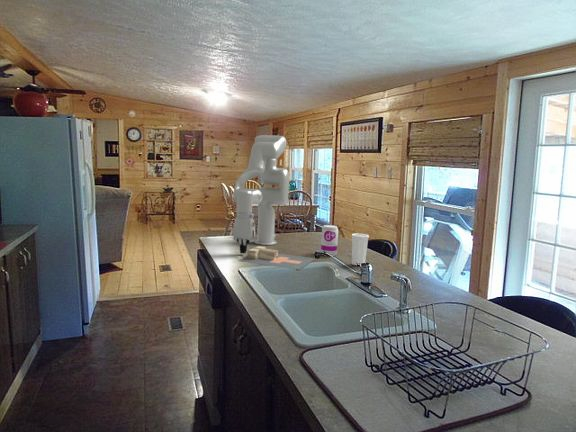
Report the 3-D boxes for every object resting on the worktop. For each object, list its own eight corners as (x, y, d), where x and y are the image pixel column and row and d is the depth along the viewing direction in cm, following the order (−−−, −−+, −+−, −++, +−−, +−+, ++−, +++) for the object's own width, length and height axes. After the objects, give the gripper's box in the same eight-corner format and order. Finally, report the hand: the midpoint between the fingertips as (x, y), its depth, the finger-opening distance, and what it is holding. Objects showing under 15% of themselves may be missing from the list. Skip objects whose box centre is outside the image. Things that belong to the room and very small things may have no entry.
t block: (258, 253, 216) (258, 245, 216) (280, 256, 212) (281, 248, 211) (247, 258, 205) (247, 250, 204) (270, 261, 201) (271, 253, 200)
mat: (260, 251, 222) (260, 251, 222) (315, 259, 212) (315, 258, 212) (237, 261, 200) (237, 260, 200) (298, 270, 189) (298, 269, 189)
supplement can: (335, 257, 217) (337, 228, 215) (319, 256, 218) (321, 226, 216) (337, 254, 225) (339, 225, 223) (321, 252, 226) (323, 224, 224)
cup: (368, 264, 207) (370, 234, 205) (365, 267, 199) (367, 237, 197) (351, 262, 209) (353, 232, 207) (348, 265, 202) (349, 235, 200)
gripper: (261, 216, 211) (260, 253, 213) (234, 213, 216) (233, 249, 219) (254, 217, 204) (253, 256, 206) (226, 215, 209) (225, 252, 212)
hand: (243, 252), depth 212 cm, fingers closed
